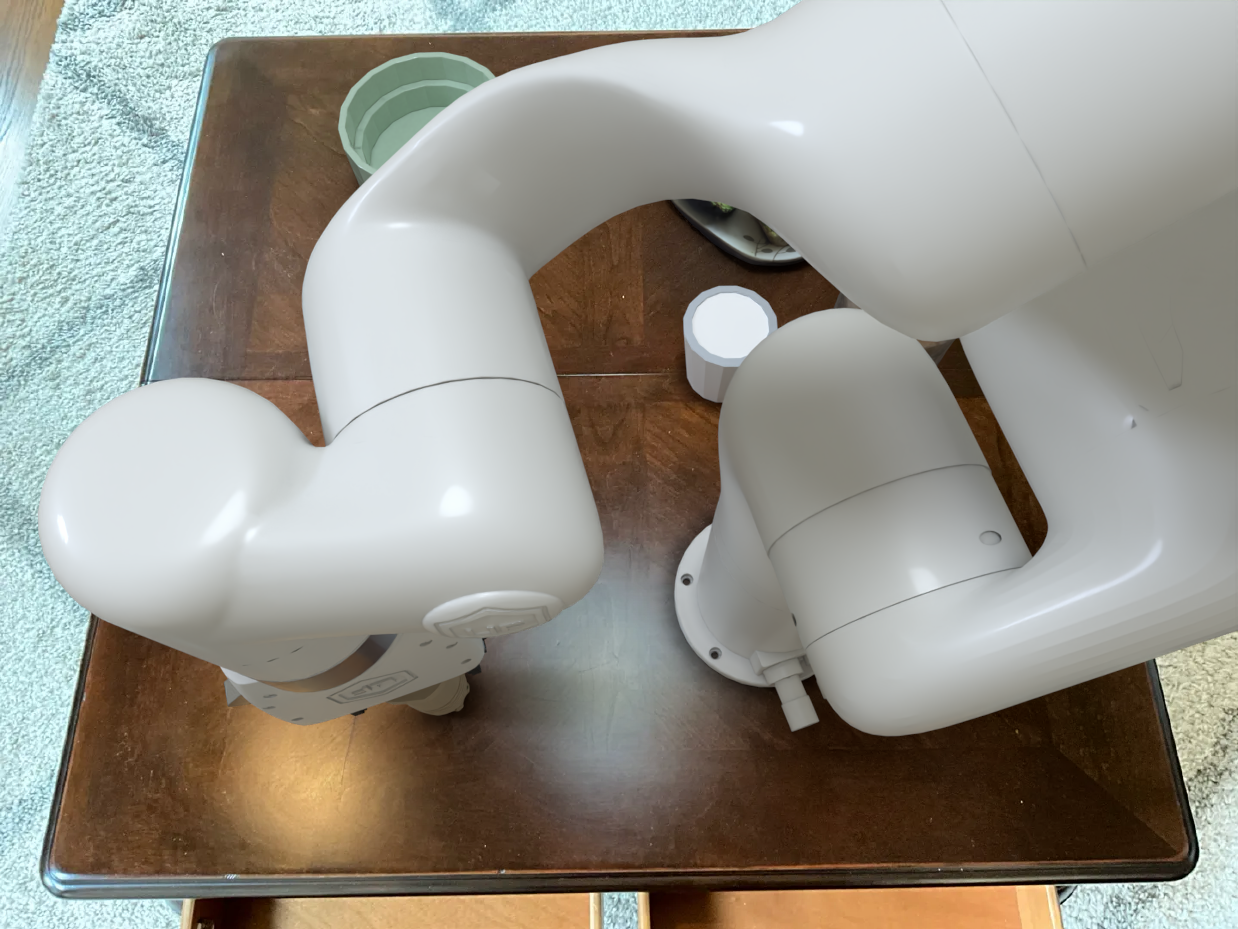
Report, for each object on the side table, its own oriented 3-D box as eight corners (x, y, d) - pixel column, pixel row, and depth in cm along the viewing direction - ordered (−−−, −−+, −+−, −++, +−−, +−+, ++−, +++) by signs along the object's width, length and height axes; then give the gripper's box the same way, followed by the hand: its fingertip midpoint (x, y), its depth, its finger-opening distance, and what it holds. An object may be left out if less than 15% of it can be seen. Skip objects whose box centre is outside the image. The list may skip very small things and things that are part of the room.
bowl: (537, 200, 76) (530, 156, 71) (378, 246, 75) (359, 204, 70) (492, 84, 82) (483, 34, 77) (342, 124, 80) (323, 76, 75)
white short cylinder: (782, 380, 69) (798, 334, 63) (712, 425, 68) (720, 383, 62) (730, 319, 72) (739, 268, 65) (661, 361, 70) (663, 314, 64)
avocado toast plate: (773, 58, 82) (780, 16, 78) (924, 166, 77) (941, 128, 73) (623, 174, 77) (623, 136, 73) (774, 298, 72) (782, 264, 68)
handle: (476, 743, 59) (427, 717, 45) (389, 710, 60) (316, 676, 46) (503, 674, 61) (464, 629, 47) (418, 644, 62) (356, 591, 48)
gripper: (99, 762, 33) (279, 784, 49) (545, 610, 34) (573, 681, 51) (78, 575, 35) (256, 656, 52) (492, 444, 37) (536, 563, 54)
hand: (413, 668), depth 51 cm, fingers closed on handle, 6 cm apart
